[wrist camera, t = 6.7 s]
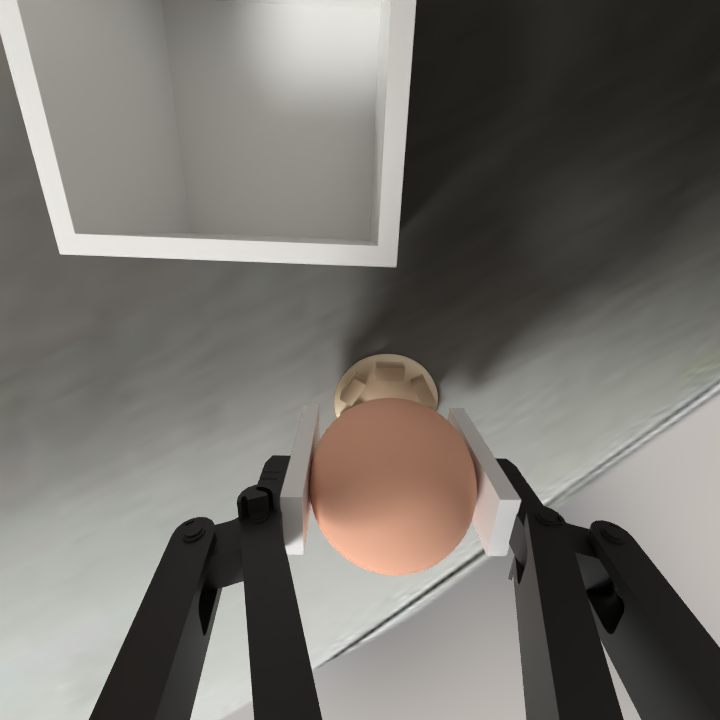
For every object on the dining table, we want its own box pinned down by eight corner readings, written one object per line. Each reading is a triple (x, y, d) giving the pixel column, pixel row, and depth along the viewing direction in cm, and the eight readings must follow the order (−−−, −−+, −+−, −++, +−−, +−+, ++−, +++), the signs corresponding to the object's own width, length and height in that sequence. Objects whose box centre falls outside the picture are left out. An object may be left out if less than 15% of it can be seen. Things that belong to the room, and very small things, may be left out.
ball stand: (430, 445, 22) (435, 458, 21) (334, 443, 22) (332, 455, 21) (443, 355, 20) (448, 363, 19) (335, 351, 20) (334, 359, 19)
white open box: (379, 252, 18) (396, 267, 10) (186, 244, 18) (60, 254, 10) (394, -1, 14) (435, -260, 7) (150, -15, 14) (-89, -298, 6)
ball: (441, 487, 19) (487, 620, 13) (317, 485, 19) (300, 620, 12) (458, 374, 17) (528, 467, 10) (316, 370, 16) (294, 463, 10)
